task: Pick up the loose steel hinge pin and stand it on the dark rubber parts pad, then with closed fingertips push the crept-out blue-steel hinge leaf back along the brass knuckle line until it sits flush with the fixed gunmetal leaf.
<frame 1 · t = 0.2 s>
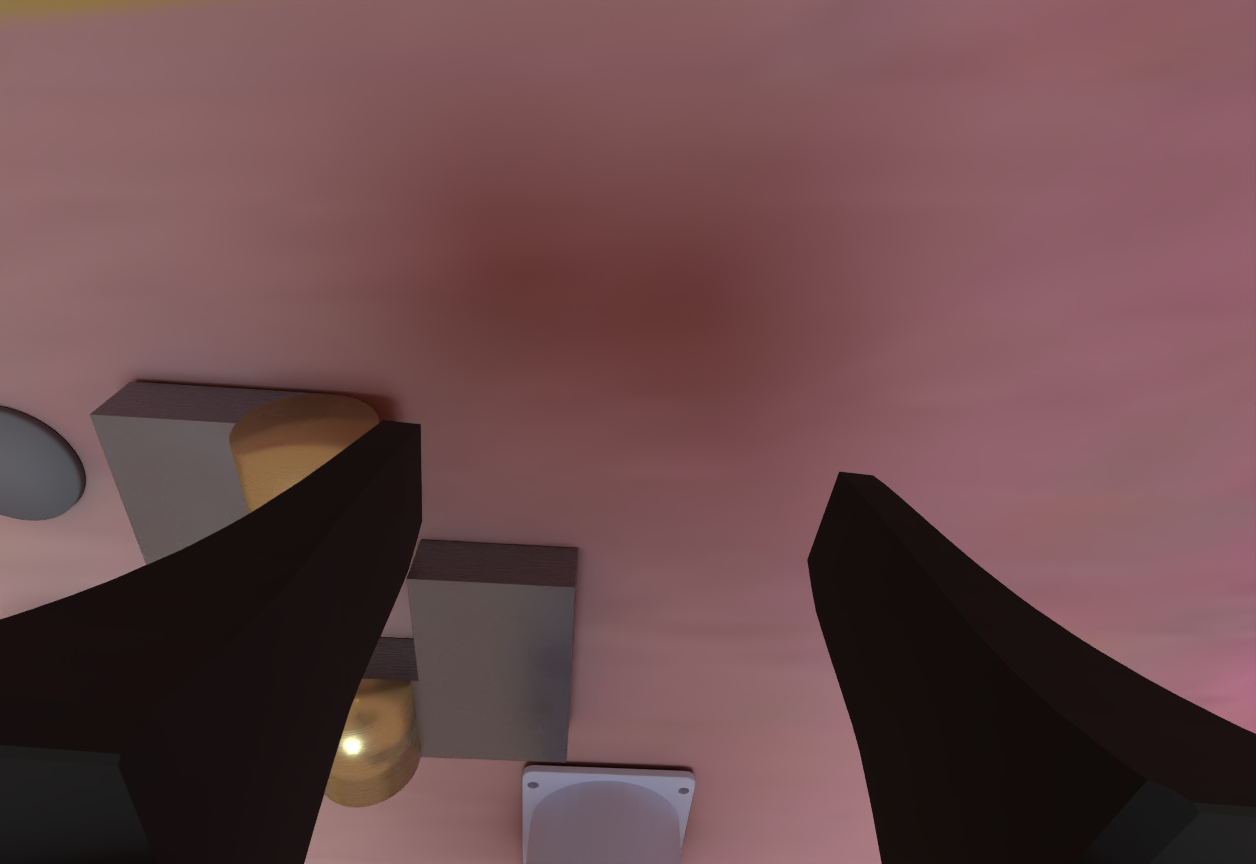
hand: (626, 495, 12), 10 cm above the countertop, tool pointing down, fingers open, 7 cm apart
fixed leaf: (372, 632, 28), on the countertop
parts pad: (14, 461, 24), on the countertop
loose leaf: (267, 553, 23), point 2 cm above the countertop, slide at 6.0 cm
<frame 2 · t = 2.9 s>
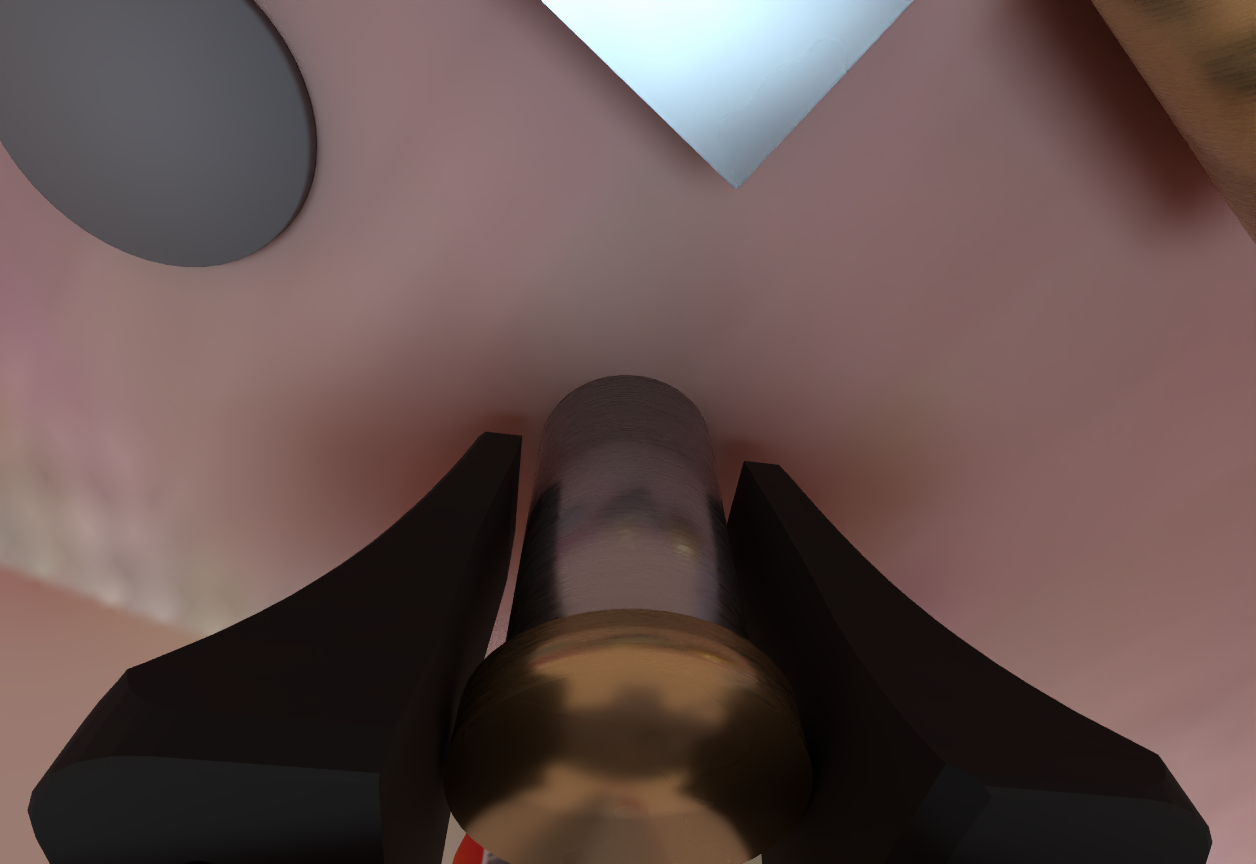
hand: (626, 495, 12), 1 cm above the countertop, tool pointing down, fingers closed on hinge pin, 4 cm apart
parts pad: (160, 110, 10), on the countertop
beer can: (570, 826, 21), on the countertop
hinge pin: (625, 450, 14), on the countertop, touching gripper
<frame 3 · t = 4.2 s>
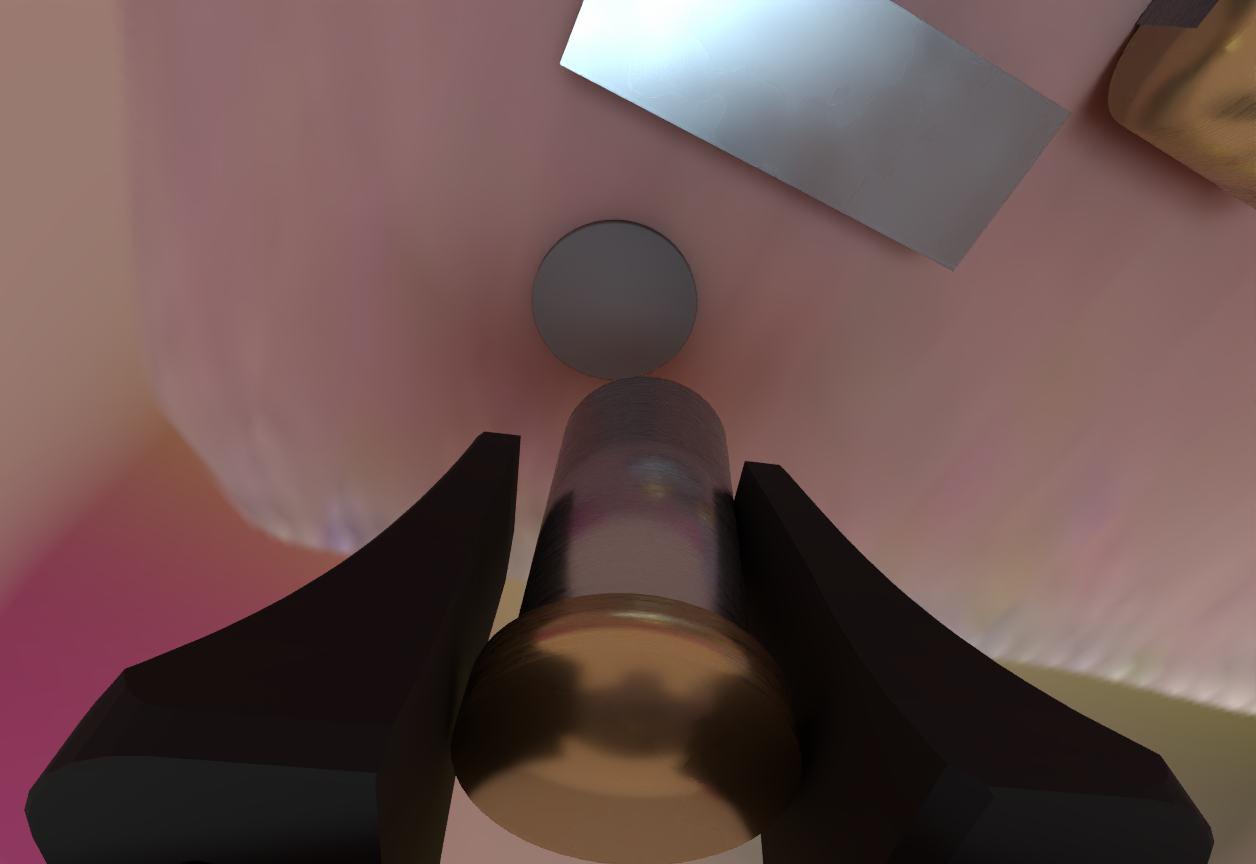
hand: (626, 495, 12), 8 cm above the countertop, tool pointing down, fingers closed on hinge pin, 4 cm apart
fixed leaf: (1127, 18, 16), on the countertop
parts pad: (614, 301, 19), on the countertop
hinge pin: (644, 449, 14), point 7 cm above the countertop, touching gripper
when the fingers open (3 cm above the countertop, at t = 5.8 s): hinge pin stays where it is, resting on parts pad.
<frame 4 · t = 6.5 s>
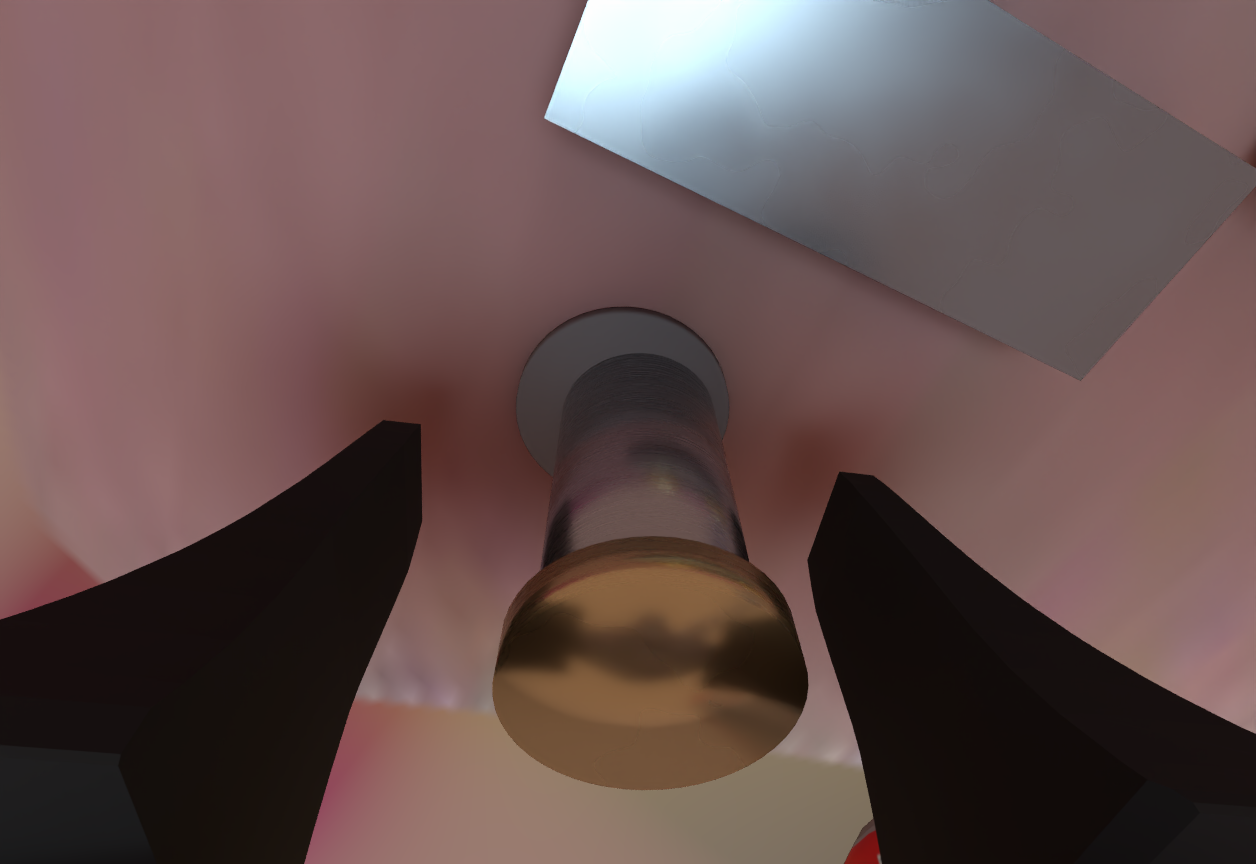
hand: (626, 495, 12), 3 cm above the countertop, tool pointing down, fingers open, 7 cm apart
parts pad: (622, 404, 15), on the countertop
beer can: (926, 832, 24), on the countertop
hinge pin: (638, 422, 15), resting on parts pad
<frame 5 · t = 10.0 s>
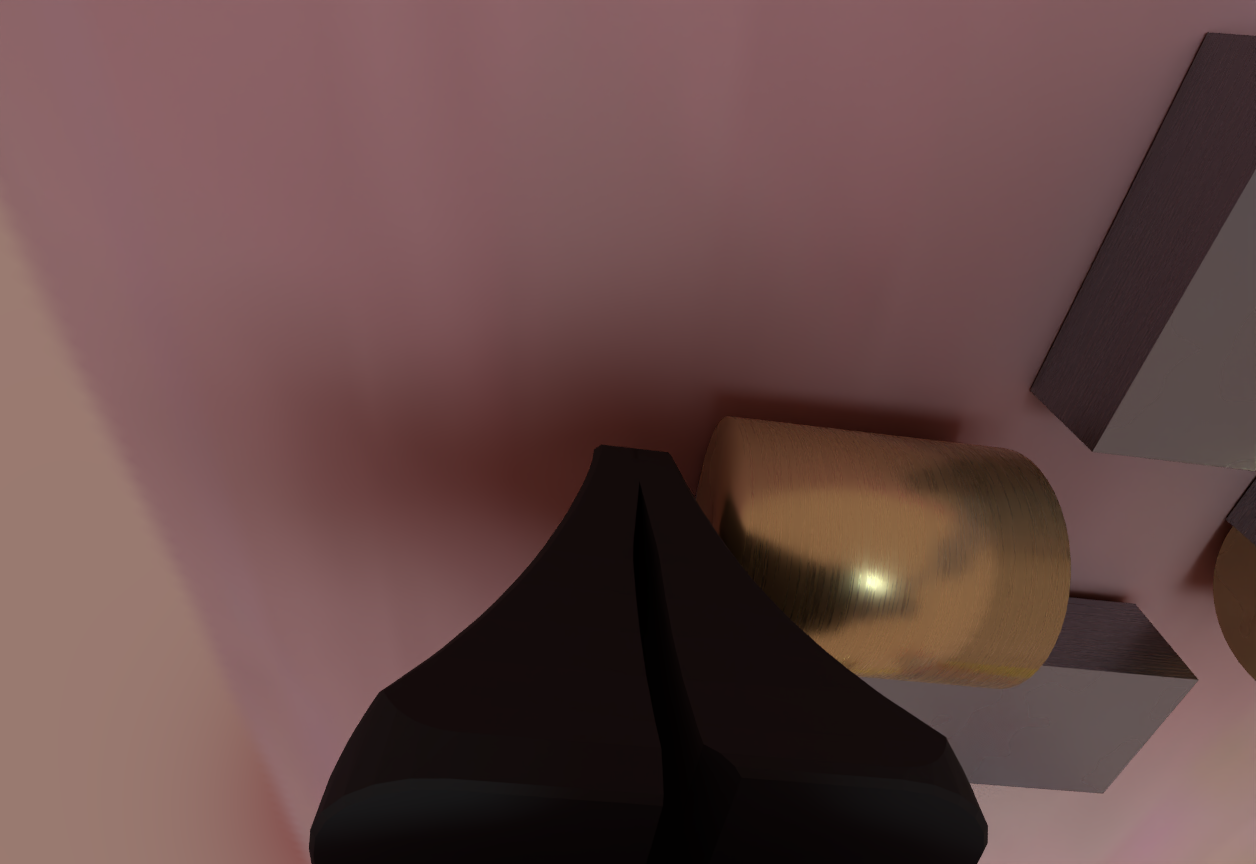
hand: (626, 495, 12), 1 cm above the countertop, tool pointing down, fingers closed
fixed leaf: (1214, 518, 14), on the countertop
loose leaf: (956, 648, 13), point 2 cm above the countertop, slide at 5.6 cm, touching gripper
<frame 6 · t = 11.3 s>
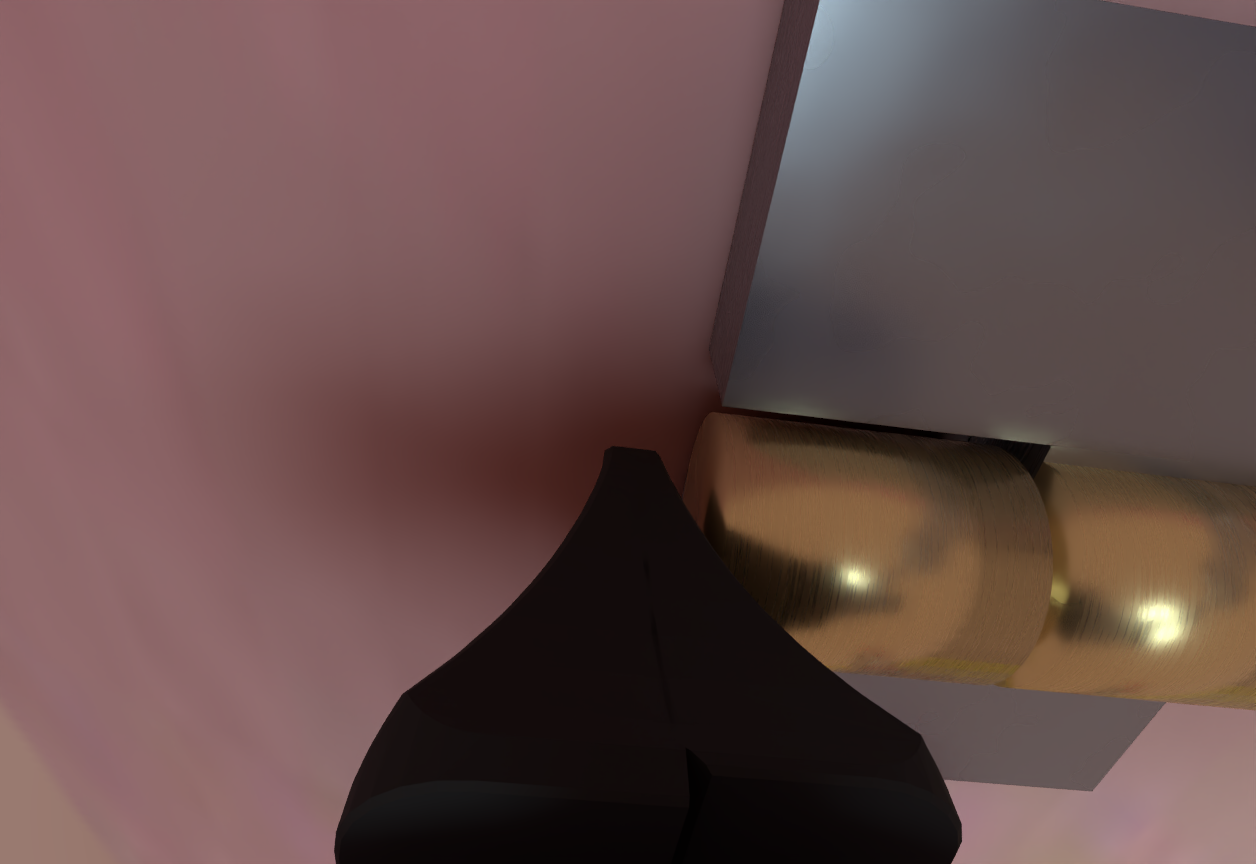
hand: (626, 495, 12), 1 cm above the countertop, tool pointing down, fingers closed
fixed leaf: (935, 485, 14), on the countertop
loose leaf: (942, 645, 13), point 2 cm above the countertop, slide at -0.1 cm, touching gripper
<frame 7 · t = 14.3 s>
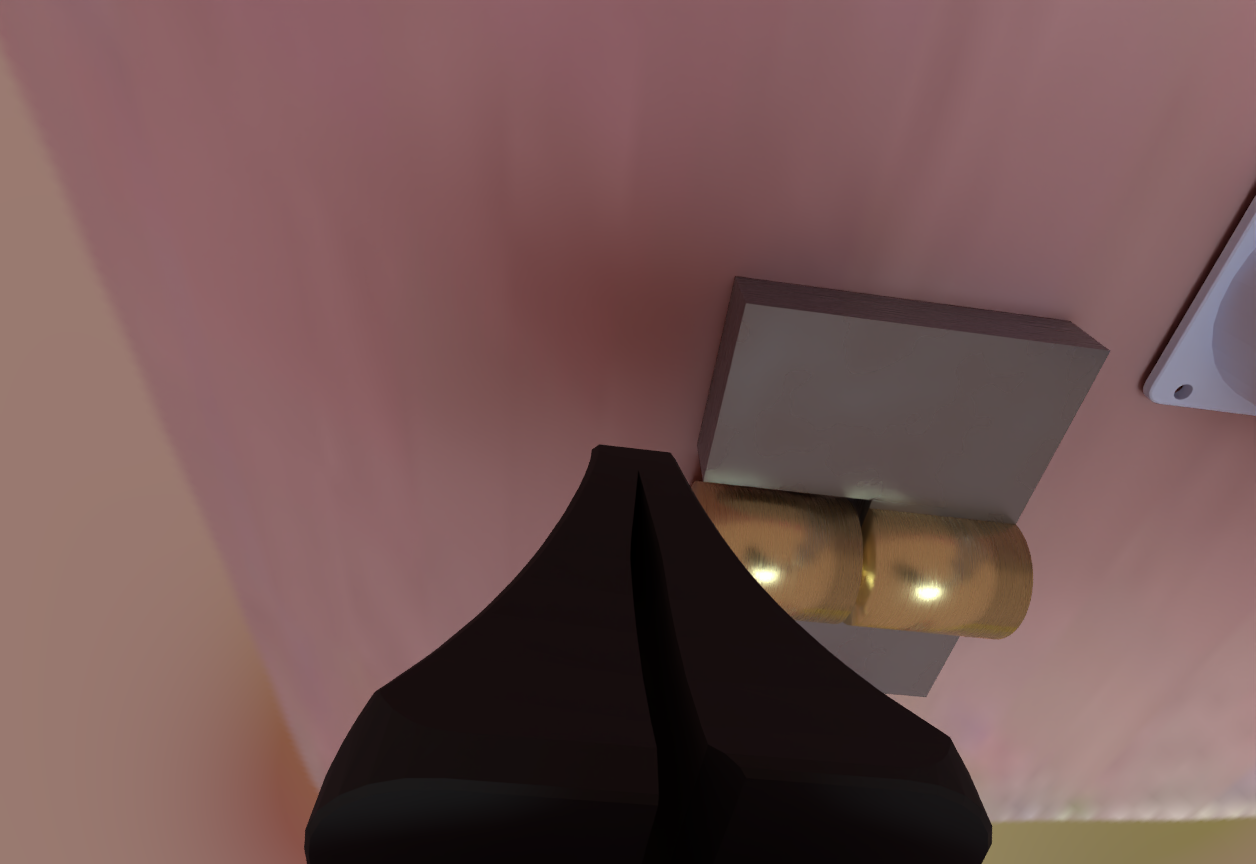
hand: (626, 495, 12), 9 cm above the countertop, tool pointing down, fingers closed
fixed leaf: (826, 516, 25), on the countertop
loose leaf: (826, 606, 24), point 2 cm above the countertop, slide at 0.0 cm
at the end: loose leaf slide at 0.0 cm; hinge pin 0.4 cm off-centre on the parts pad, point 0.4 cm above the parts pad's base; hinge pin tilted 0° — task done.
